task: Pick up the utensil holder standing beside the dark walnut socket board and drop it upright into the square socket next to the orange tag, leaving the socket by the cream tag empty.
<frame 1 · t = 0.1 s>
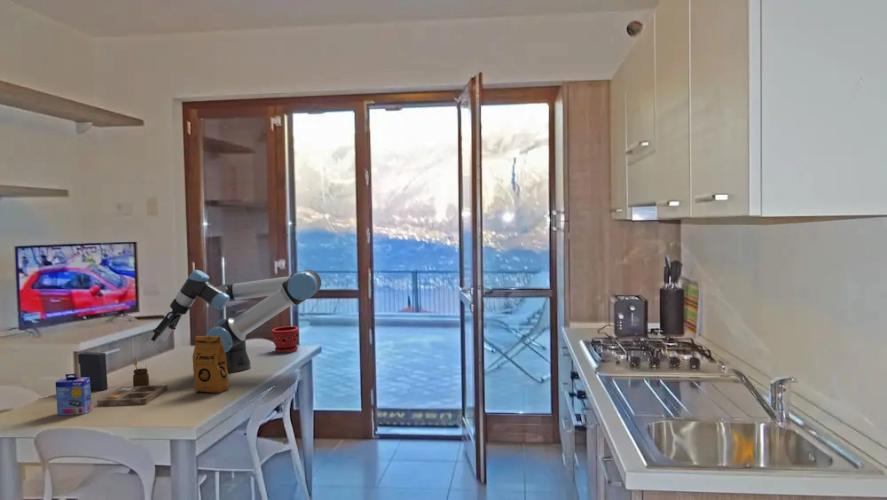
hand: (155, 343, 283), 15 cm above the table, tool tilted 35°, fingers open, 13 cm apart
utensil holder: (141, 386, 270), on the table
black boxy piece: (94, 389, 267), on the table
coffee package: (212, 391, 259), on the table
ink cartridge box: (74, 413, 234), on the table
socket board: (133, 397, 252), on the table
plant pot: (286, 351, 335), on the table
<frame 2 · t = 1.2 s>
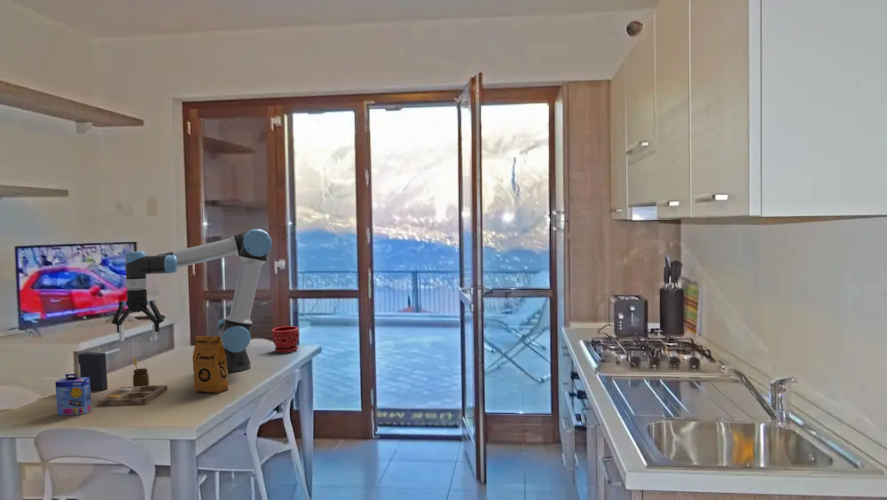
hand: (138, 340, 269), 19 cm above the table, tool pointing down, fingers open, 13 cm apart
nothing on the table moved.
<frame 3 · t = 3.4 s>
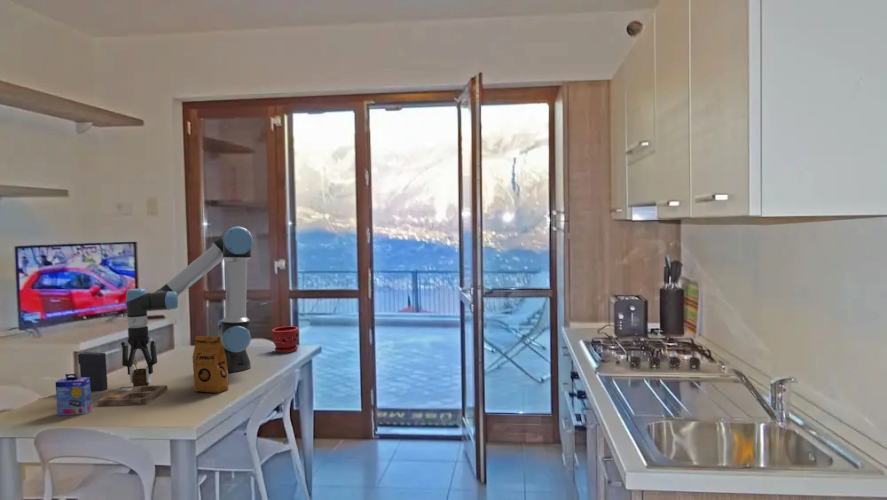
hand: (140, 381, 270), 2 cm above the table, tool pointing down, fingers closed on utensil holder, 6 cm apart
utensil holder: (140, 386, 270), on the table, touching gripper
everything else where it was.
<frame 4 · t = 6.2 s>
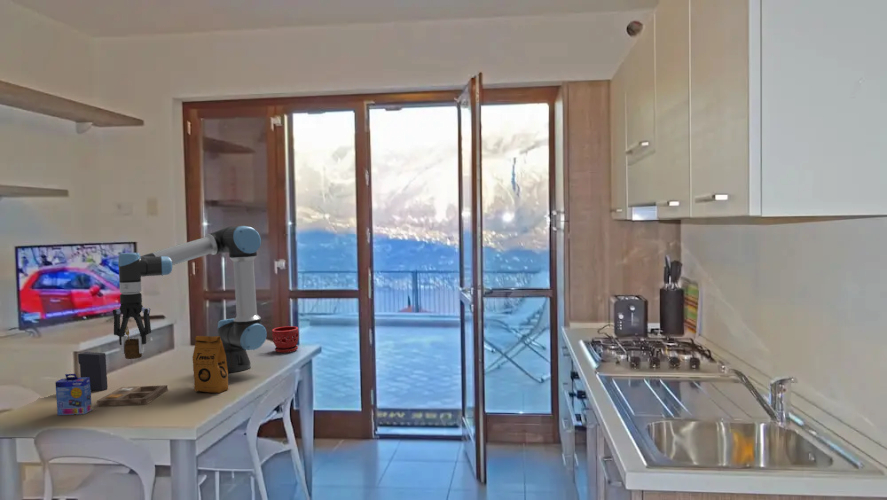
hand: (133, 352, 251), 17 cm above the table, tool pointing down, fingers closed on utensil holder, 6 cm apart
utensil holder: (133, 358, 251), point 15 cm above the table, touching gripper
everything else where it was.
when the fingers open (4 cm above the table, at t = 8.9 s): utensil holder drops 2 cm, resting in socket board.
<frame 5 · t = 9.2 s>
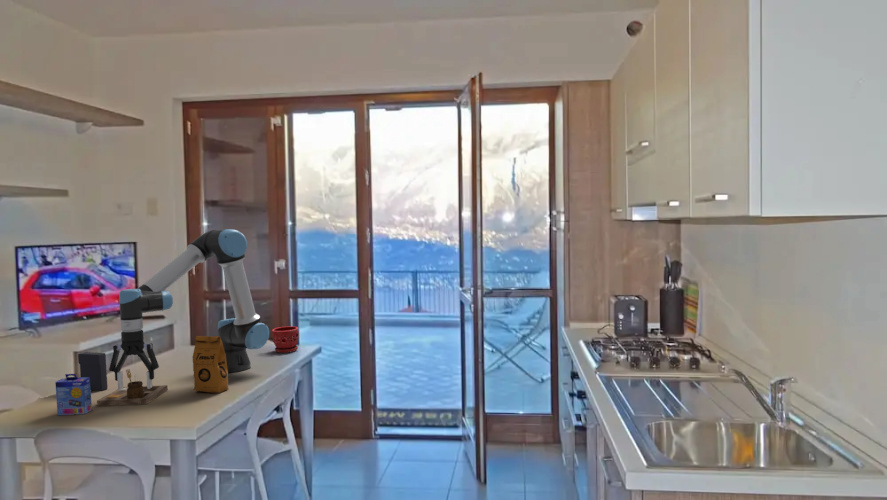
hand: (135, 388, 247), 5 cm above the table, tool pointing down, fingers open, 10 cm apart
utensil holder: (135, 401, 247), resting in socket board
everything else where it was.
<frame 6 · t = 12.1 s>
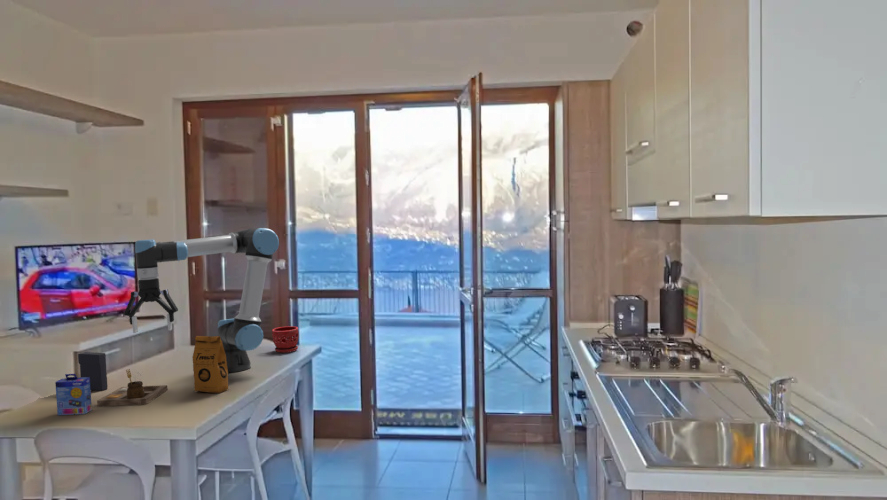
hand: (153, 331, 261), 24 cm above the table, tool pointing down, fingers open, 13 cm apart
nothing on the table moved.
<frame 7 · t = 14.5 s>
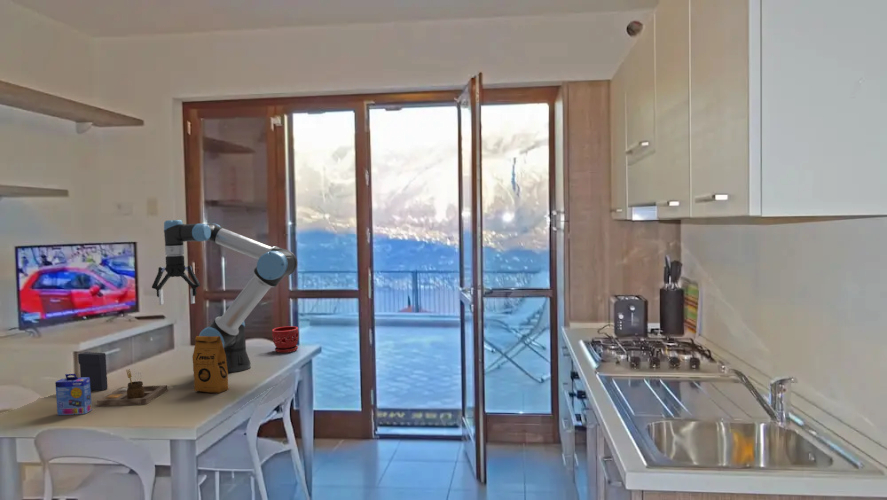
hand: (177, 304, 286), 32 cm above the table, tool pointing down, fingers open, 13 cm apart
nothing on the table moved.
at the end: utensil holder 0.1 cm from the target spot on the socket board, point 0.0 cm above the socket board's base; utensil holder tilted 0°; the gripper is holding nothing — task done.
